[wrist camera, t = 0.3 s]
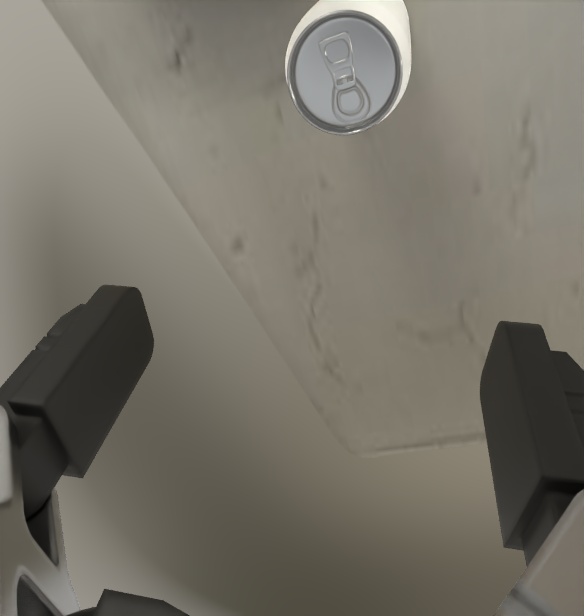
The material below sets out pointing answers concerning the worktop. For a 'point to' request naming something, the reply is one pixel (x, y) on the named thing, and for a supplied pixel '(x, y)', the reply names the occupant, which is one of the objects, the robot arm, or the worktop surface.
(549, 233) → the worktop surface
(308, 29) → the can
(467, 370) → the worktop surface
